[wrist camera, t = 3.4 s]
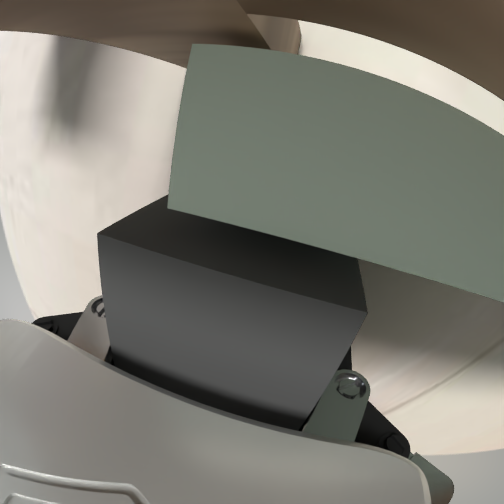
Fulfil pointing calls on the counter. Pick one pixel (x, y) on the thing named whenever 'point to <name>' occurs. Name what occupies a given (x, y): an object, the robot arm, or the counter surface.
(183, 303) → the block
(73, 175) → the counter surface
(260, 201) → the pale green rectangular block
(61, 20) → the wood grain plank
